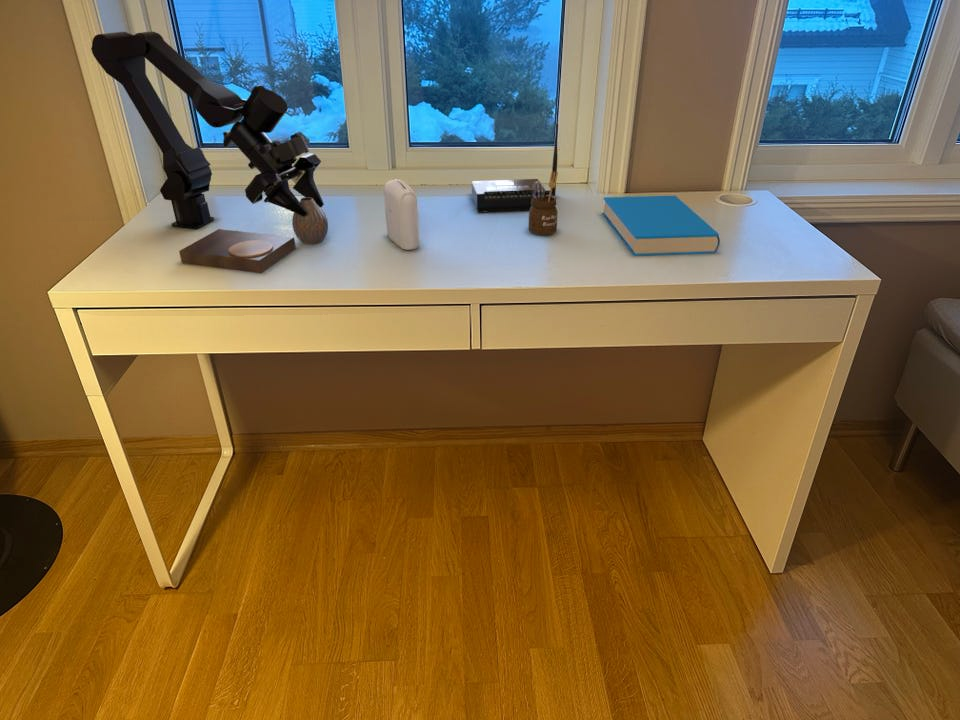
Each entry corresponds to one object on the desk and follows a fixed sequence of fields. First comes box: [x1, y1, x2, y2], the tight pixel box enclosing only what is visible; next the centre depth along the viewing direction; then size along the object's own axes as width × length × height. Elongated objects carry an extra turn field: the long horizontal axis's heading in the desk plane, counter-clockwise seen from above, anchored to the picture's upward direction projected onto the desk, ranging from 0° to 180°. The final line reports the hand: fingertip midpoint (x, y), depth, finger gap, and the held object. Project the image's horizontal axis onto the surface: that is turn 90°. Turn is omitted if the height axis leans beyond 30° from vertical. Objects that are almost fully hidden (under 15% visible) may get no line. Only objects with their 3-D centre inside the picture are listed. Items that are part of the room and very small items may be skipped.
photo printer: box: [383, 178, 420, 251], centre depth 134 cm, size 10×4×12 cm, turn 26°
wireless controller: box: [471, 123, 559, 214], centre depth 155 cm, size 20×14×17 cm
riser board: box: [178, 228, 297, 274], centre depth 130 cm, size 17×12×3 cm
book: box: [601, 195, 721, 257], centre depth 141 cm, size 17×4×25 cm
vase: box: [291, 196, 329, 245], centre depth 135 cm, size 7×7×9 cm
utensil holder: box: [528, 170, 559, 237], centre depth 139 cm, size 6×6×12 cm
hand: (314, 210), depth 134 cm, fingers closed on vase, 5 cm apart
